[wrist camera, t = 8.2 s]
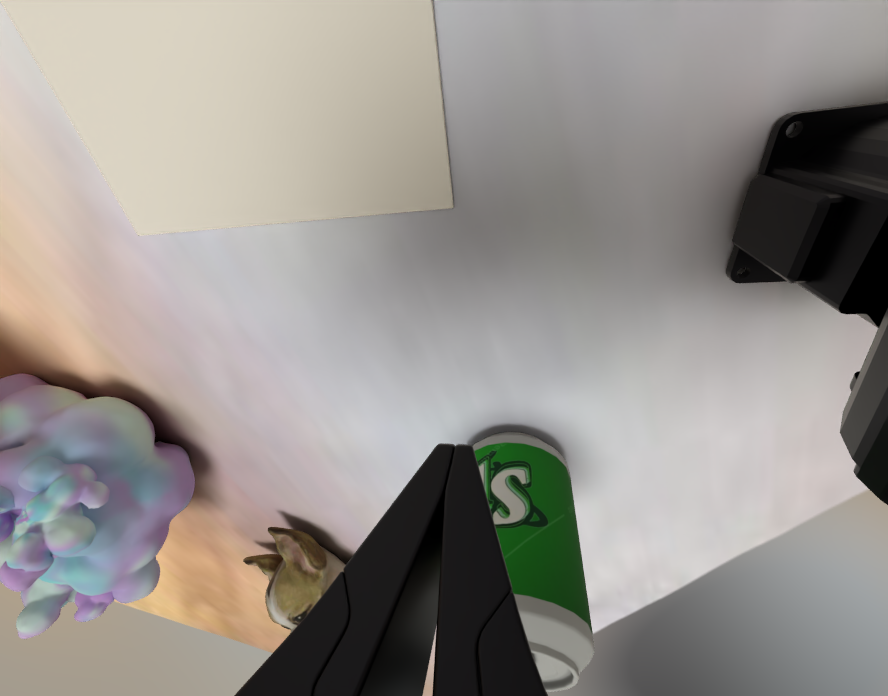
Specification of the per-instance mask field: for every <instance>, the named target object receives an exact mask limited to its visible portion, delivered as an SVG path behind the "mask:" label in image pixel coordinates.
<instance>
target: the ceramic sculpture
mask: <svg viewBox="0 0 888 696" xmlns="http://www.w3.org/2000/svg"><path fill="white" fill-rule="evenodd" d="M268 532H269V533H270V534H271V535H272V536H273V538H274V539H275V542H276V546H277V551H278V553H279V554H280V555H279V554H266V555H258V556H251V557H247V558H245V559H244V560H243V562H245V563H246V564H248V565H254V566H258V567H259V568H260V569H261V570H262V572H263V573H264V574H265V575H267V576H268V577H269V581H270V582H269V585H268V588H267V590H266V596H265V598H266V606H267V610H268V613H269V617H270V618H271V619H272V621H273V622H275V623H277V624H281V626H282V627H284V628H287V629H290V630H291V632H292V631H293V630H294V629H295V628H296V627H297V626H298V624H299V623H300V622H301V621H302V620H303V619H304V618H305V616H306V615H307V614H308V613H309V612H310V610H311V609H312V608H313V607H314V605H315V604H316V603H317V602H318V600H319V599H320V598H321V597H322V595H323V594H324V593H325V592H326V590H327V589H328V588H329V586H330V585H331V584H332V582H333V581H334V580H335V578H336V577H337V576H338V574H339V573H340V572H342V571H343V572H344V570H343V569H344V567H345V566H346V565H345V564H344V563H343V562H342V561H340V560H339V559H338V558H337V557H336V556H335V555H333V554H332V553H331V552H329V551H328V550H326V549H325V548H323V547H320V546H319V544H318V543H317V542H316V541H315V540H314V539H313V538H312V537H311V536H310V535H308V534H307V533H305V532H301V531H297V530H293V529H285V528H278V527H270V528H268ZM290 634H291V633H290Z"/></svg>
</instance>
